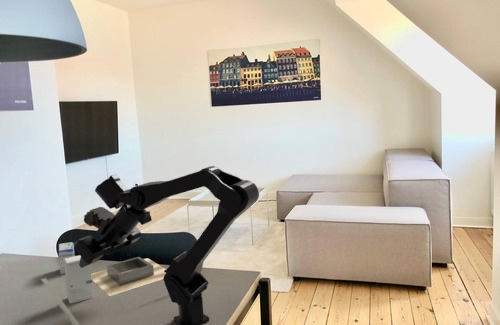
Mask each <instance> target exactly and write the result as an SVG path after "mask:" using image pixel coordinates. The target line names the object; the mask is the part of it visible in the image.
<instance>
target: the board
mask: <svg viewBox="0 0 500 325" xmlns="http://www.w3.org/2000/svg"><path fill="white" fill-rule="evenodd" d="M143 259H144V260H145V261H147V262H148V263H150V264H152V265H153V269H154V275H152V276H149V277H146V278H143V279H139V280H136V281H133V282H130V283H127V284H123V285H119V284H118V283H116V282H115V281H114V280H113V279H112V278H111V277H109V276H108V274H107V268H106V269H103V270H99V271H96V272H93V273H92V272H91V276H92V282H94V283H95V285H97V286H98V287H99V288H100V290H102V292H104V293H105V294H106V295H107V296H108V297H112V296H115V295H118V294H120V293H121V294H122V293H125V292H127V291H130V290H133V289H136V288H137V289H138V288H140V287H142V286H143V287H144V286H147V285H149V284H152V283H157V282H158V281H161V280H163V278H164V275H165V274H166V273H165V272H164V271H165V270H166V269H167V268H165V267H163V266H161V265H160V264H158V263H156V262H155V261H154V260H152V259H150V258H143ZM135 269H139V267H138V268H134V269H131V270H127V271H124V272H120V273H125V272H128V271H132V270H135Z"/></svg>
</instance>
